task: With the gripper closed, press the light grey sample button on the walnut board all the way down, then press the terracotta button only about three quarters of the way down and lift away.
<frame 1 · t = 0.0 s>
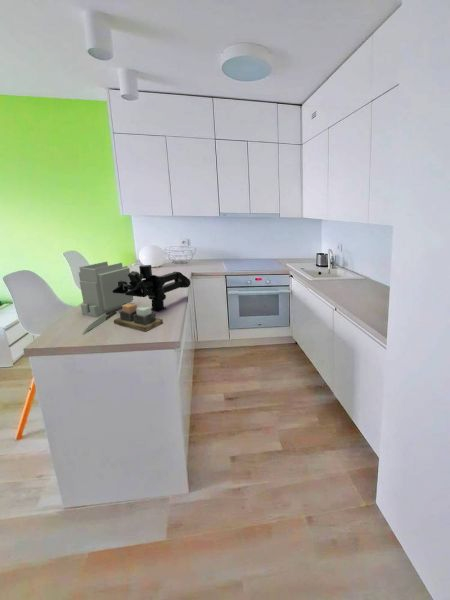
hand: (119, 292, 140), 17 cm above the table, tool horizontal, fingers open, 9 cm apart
terracotta button: (129, 308, 146), point 7 cm above the table, slide at 0.0 cm
kitchen knife: (100, 324, 147), on the table
button board: (138, 323, 145), on the table
toaster: (109, 308, 171), on the table
grey button: (144, 311, 141), point 7 cm above the table, slide at 0.0 cm
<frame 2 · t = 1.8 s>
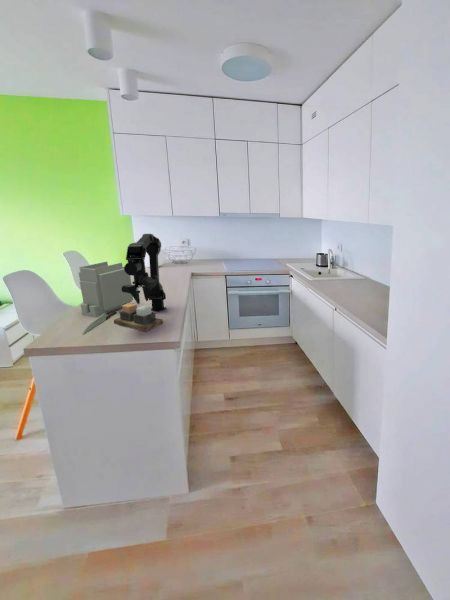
hand: (142, 302, 139), 12 cm above the table, tool pointing down, fingers open, 5 cm apart
nothing on the table moved.
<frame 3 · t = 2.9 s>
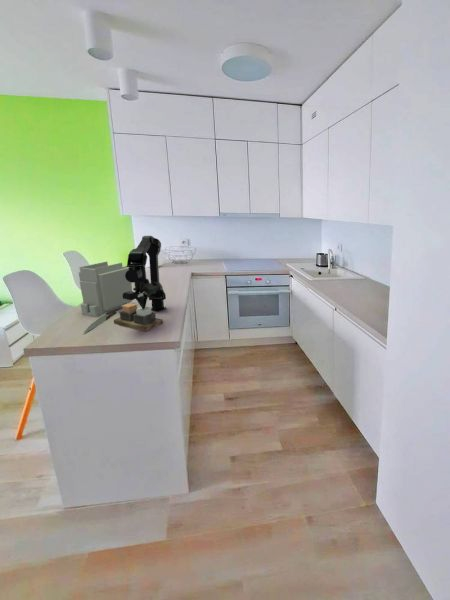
hand: (143, 308, 140), 9 cm above the table, tool pointing down, fingers closed, pressing on grey button
grey button: (144, 312, 141), point 7 cm above the table, slide at 0.2 cm, touching gripper
everything else where it was.
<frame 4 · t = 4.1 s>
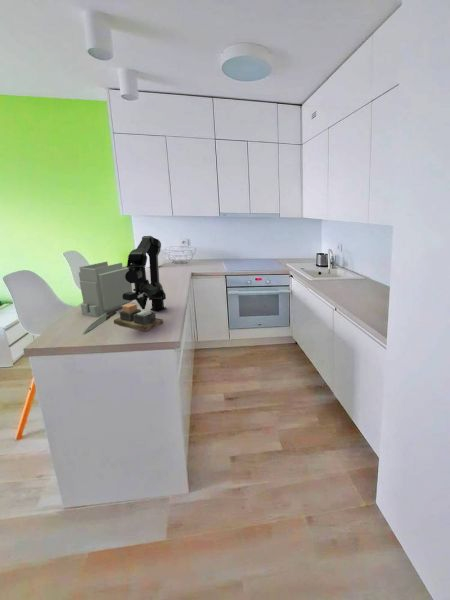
hand: (143, 309, 140), 8 cm above the table, tool pointing down, fingers closed
grey button: (144, 316, 142), point 4 cm above the table, slide at 2.5 cm
everything else where it was.
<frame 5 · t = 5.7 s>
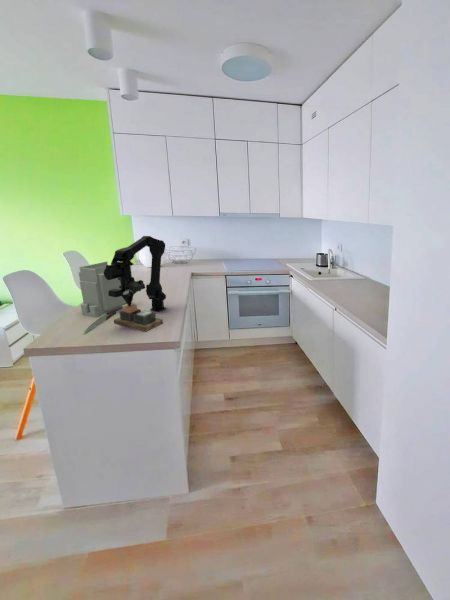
hand: (129, 305, 145), 9 cm above the table, tool pointing down, fingers closed, pressing on terracotta button
terracotta button: (129, 309, 146), point 7 cm above the table, slide at 0.3 cm, touching gripper
everything else where it was.
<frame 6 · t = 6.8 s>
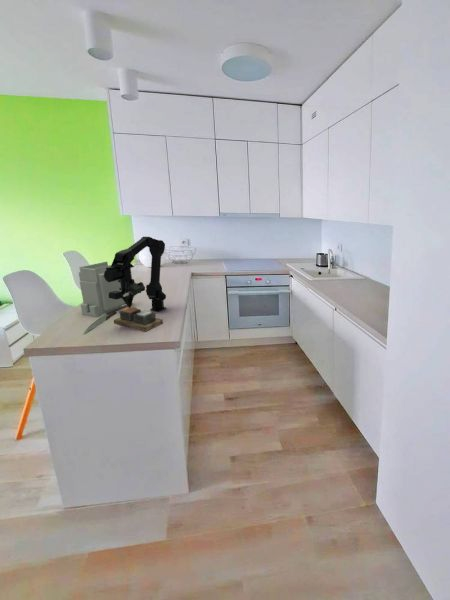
hand: (129, 307, 146), 8 cm above the table, tool pointing down, fingers closed
terracotta button: (130, 312, 146), point 5 cm above the table, slide at 1.8 cm
everything else where it was.
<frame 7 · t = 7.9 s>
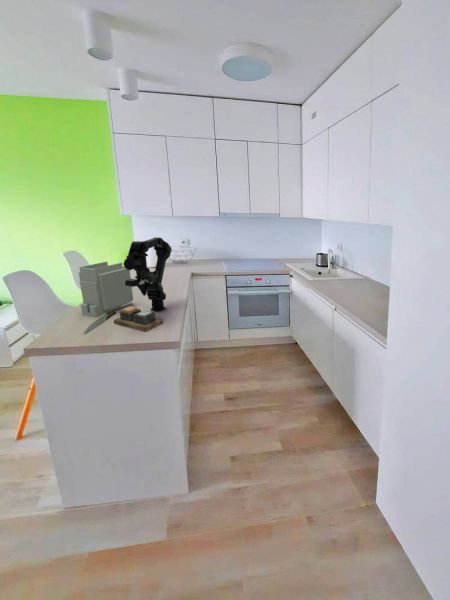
hand: (144, 295, 151), 12 cm above the table, tool pointing down, fingers closed
nothing on the table moved.
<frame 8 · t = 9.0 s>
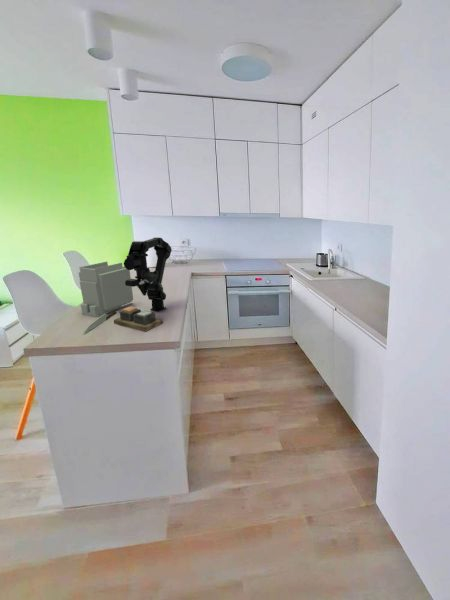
hand: (144, 295, 151), 12 cm above the table, tool pointing down, fingers closed
nothing on the table moved.
at the end: grey button slide at 2.5 cm; terracotta button slide at 1.8 cm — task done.
